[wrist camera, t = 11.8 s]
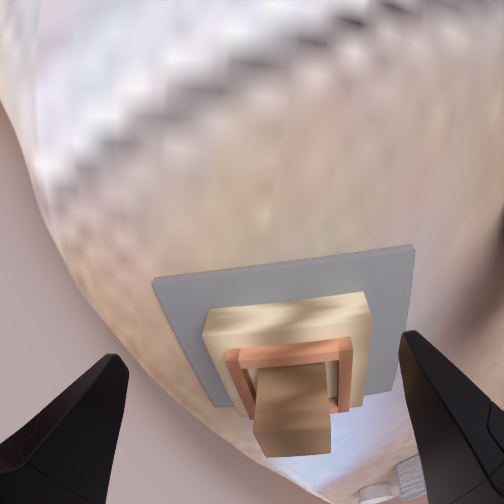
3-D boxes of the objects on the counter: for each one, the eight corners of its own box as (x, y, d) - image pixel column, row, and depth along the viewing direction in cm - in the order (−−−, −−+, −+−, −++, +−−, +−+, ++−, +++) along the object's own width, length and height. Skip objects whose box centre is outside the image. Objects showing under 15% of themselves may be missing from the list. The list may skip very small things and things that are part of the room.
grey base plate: (411, 244, 20) (415, 250, 20) (389, 385, 29) (391, 390, 29) (154, 277, 24) (151, 283, 23) (215, 401, 33) (214, 406, 32)
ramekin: (385, 488, 56) (386, 501, 52) (353, 492, 57) (354, 506, 53) (397, 479, 51) (398, 494, 48) (363, 484, 52) (364, 499, 48)
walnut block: (324, 357, 22) (330, 427, 17) (326, 392, 24) (330, 453, 19) (259, 364, 23) (253, 432, 17) (269, 397, 25) (265, 457, 20)
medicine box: (405, 465, 45) (410, 499, 38) (394, 464, 44) (399, 500, 37) (437, 450, 42) (444, 485, 34) (428, 448, 41) (435, 486, 33)
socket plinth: (363, 291, 22) (375, 330, 18) (358, 381, 28) (363, 416, 24) (209, 309, 24) (198, 348, 20) (242, 392, 30) (238, 426, 26)
